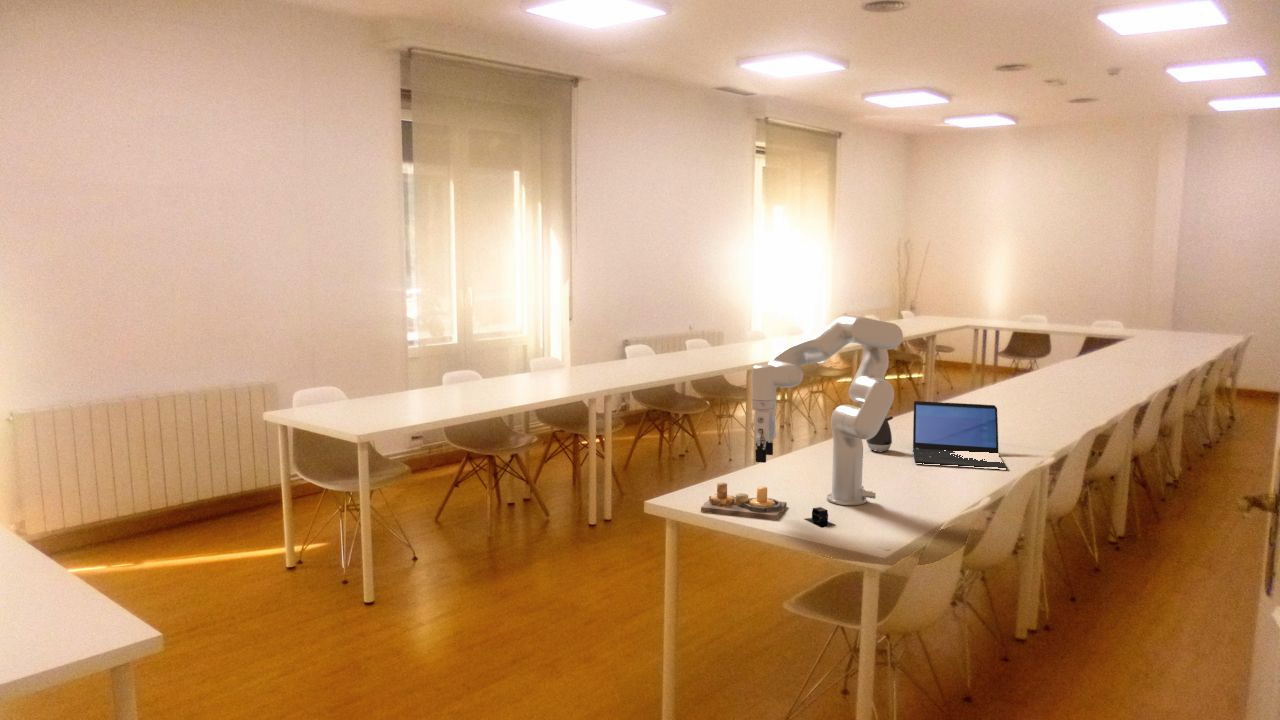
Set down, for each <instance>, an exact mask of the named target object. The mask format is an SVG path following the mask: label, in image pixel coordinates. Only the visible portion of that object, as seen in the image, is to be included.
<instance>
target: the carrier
mask: <svg viewBox="0 0 1280 720" xmlns="http://www.w3.org/2000/svg"><path fill="white" fill-rule="evenodd" d="M708 498H709V499H708V500H707V501H706V502H705V503H704V504H702V505H701V506H700V512H701V511H703V512H702V513H708V512H712V513H711V514H717V513H719V514H718V515H729V516H737V517H745V518H755V519H762V520H772V521H778V519H779V518H780V516H781V515H782V514H783V513H784V511H785V510H786V508H787V505H788V504H787V501H779V500H776V499H775V498H771V497H770V498H769V497H767V499H770V500H774V502H775V506H773V507H766V508H764V507H754V506H750V505H749V500H752V499H754V498H755V497H752V498H751V497H749V494H747V493H744V492H743V493H736V494H735V496H734V495H730V494H728V483H726V482H718V483H716V494H712V495H709V497H708Z"/></svg>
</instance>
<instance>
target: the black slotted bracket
mask: <svg viewBox="0 0 1280 720" xmlns="http://www.w3.org/2000/svg"><path fill="white" fill-rule="evenodd" d="M804 521H806V522H808V523H811V524H812V525H815V526H817V527H820V528H821V529H823V528H829V527H834V526H835V527H836V526H837V524H835V523H833V522H831V521H829V513H828V509H826V508H824V507H822V506H818V507H812V511H811V517H806V518H804Z"/></svg>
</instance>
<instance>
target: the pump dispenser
mask: <svg viewBox="0 0 1280 720" xmlns="http://www.w3.org/2000/svg"><path fill="white" fill-rule="evenodd" d="M893 419H894V417H893V416H889V417H886V418H885V420H884V422H883V424H882V426H881V428H880V430H879V431H878V433H877V434H876V435H875V436H874V437H873V438H871V439H868V440H866V445H867V447H868V449H870V451H872V450H876V451H885V452H887V451H888V450H889V449H890V448H891V446H892V444H893V436H892V429H891V426H890V423H889V422H890V421H891V420H893ZM886 450H887V451H886Z"/></svg>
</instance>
